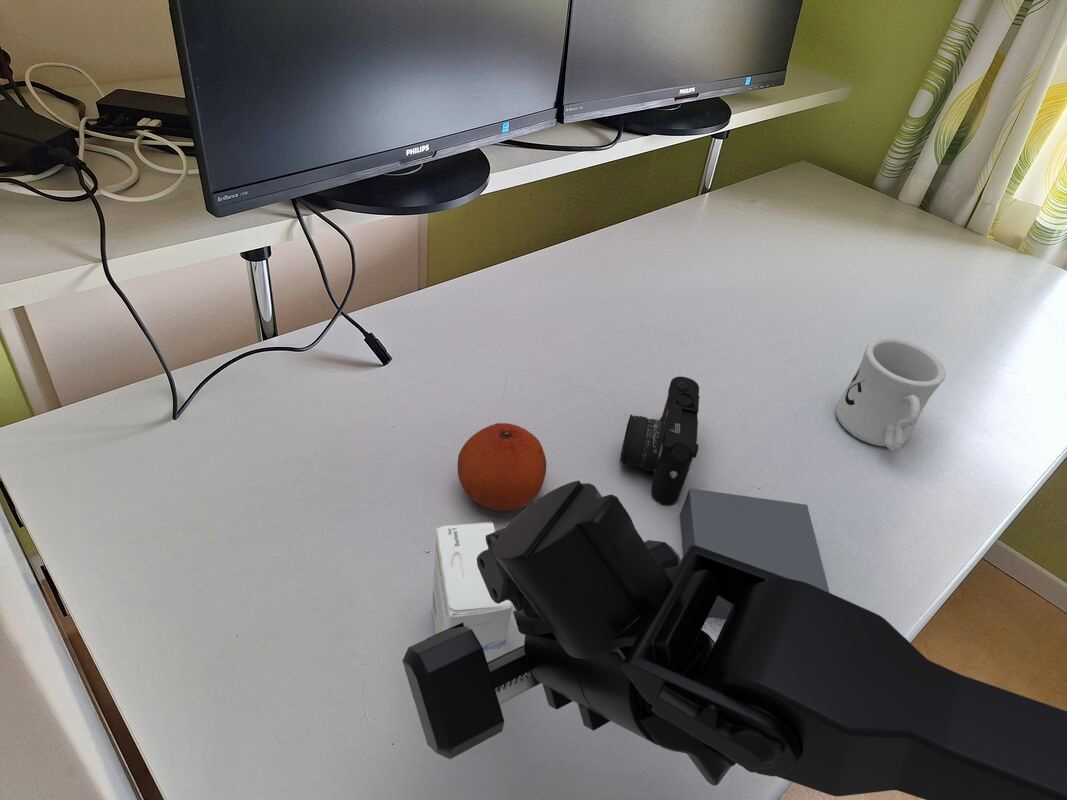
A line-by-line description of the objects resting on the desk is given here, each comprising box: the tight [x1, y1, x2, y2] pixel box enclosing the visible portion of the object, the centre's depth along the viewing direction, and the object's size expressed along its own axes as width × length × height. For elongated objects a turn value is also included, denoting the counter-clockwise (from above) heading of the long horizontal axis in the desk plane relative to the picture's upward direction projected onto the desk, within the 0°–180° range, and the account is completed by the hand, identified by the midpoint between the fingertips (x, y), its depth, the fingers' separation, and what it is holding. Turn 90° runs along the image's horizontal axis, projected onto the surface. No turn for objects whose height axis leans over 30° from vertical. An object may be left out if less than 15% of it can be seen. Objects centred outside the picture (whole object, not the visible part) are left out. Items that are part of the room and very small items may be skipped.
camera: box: [619, 376, 700, 506], centre depth 82 cm, size 14×7×8 cm, turn 169°
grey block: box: [679, 487, 831, 620], centre depth 73 cm, size 12×12×4 cm
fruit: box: [457, 422, 547, 511], centre depth 75 cm, size 9×9×8 cm
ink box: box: [431, 521, 513, 662], centre depth 61 cm, size 8×5×12 cm, turn 13°
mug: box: [835, 336, 947, 452], centre depth 89 cm, size 12×9×10 cm
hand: (504, 617), depth 54 cm, fingers open, 9 cm apart
